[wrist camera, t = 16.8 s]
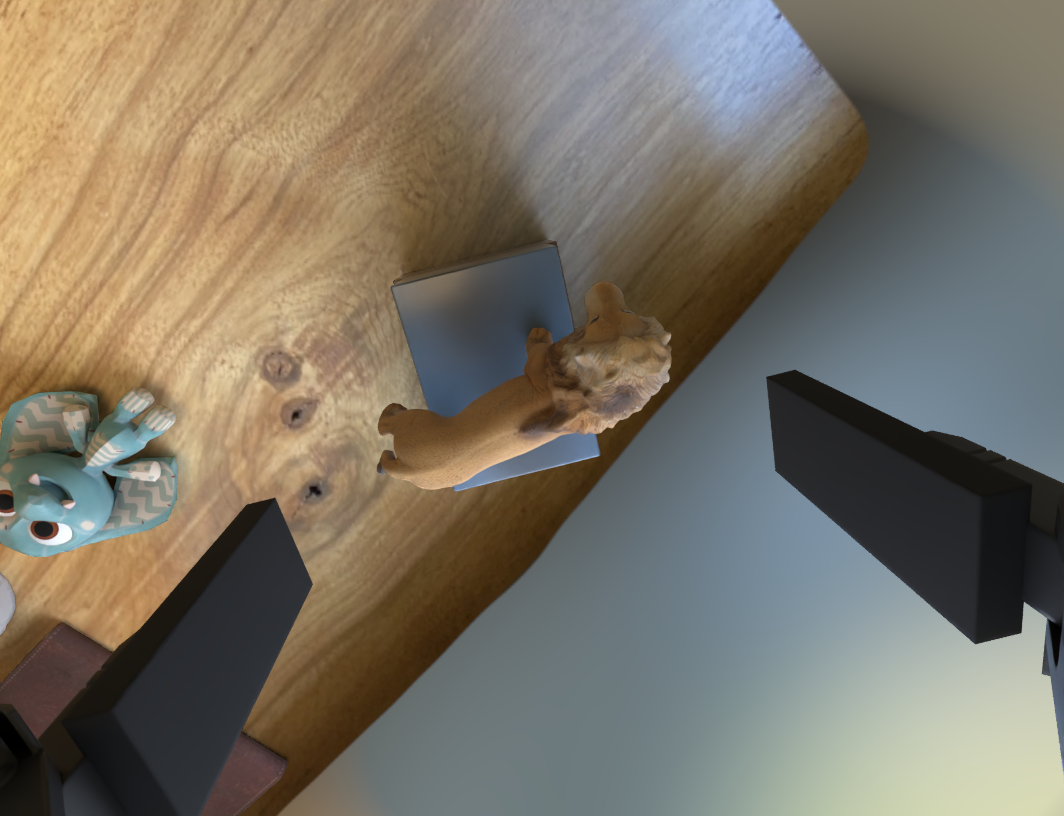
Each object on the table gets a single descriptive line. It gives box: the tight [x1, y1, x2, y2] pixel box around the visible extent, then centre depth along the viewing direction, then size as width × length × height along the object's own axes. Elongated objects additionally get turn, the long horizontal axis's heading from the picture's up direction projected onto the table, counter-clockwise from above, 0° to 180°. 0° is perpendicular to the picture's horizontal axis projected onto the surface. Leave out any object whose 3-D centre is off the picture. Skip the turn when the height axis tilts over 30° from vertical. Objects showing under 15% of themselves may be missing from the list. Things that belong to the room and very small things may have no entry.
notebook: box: [0, 622, 287, 816], centre depth 42 cm, size 15×20×2 cm
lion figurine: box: [377, 281, 671, 489], centre depth 24 cm, size 15×5×9 cm, turn 125°
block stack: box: [391, 239, 600, 491], centre depth 32 cm, size 9×11×8 cm
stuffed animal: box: [0, 387, 178, 557], centre depth 33 cm, size 11×7×12 cm
